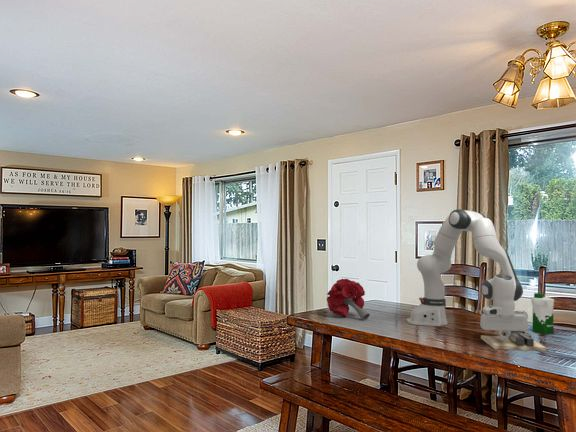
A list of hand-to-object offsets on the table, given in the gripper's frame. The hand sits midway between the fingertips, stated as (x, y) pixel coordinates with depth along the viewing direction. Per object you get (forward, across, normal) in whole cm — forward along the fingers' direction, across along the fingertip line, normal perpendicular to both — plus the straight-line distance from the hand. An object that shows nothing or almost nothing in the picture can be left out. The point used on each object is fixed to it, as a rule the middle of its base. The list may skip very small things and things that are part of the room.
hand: (504, 340), depth 192 cm
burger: (+3, -14, -19) cm, 23 cm away
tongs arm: (+1, -5, 0) cm, 5 cm away
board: (+2, -4, -2) cm, 6 cm away
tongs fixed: (+1, -7, -2) cm, 8 cm away
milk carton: (+3, -31, -30) cm, 43 cm away
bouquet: (+3, +70, -52) cm, 87 cm away
